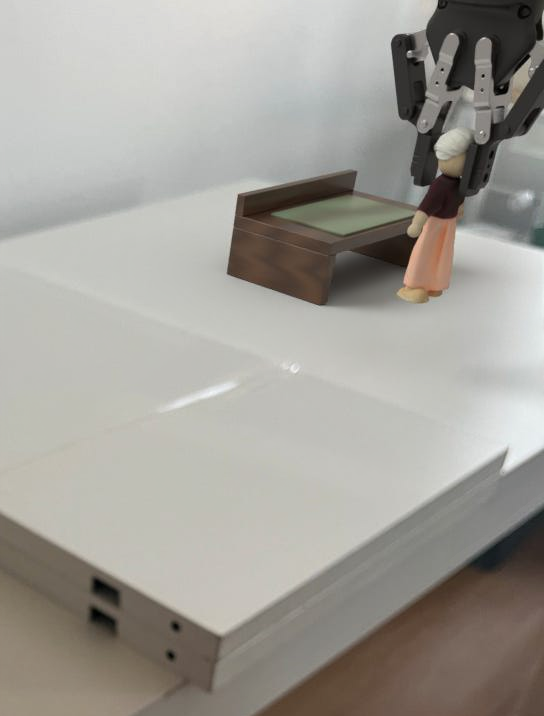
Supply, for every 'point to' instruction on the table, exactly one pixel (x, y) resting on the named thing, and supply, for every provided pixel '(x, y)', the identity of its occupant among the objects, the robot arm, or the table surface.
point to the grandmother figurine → (437, 221)
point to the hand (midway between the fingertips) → (445, 188)
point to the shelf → (314, 233)
